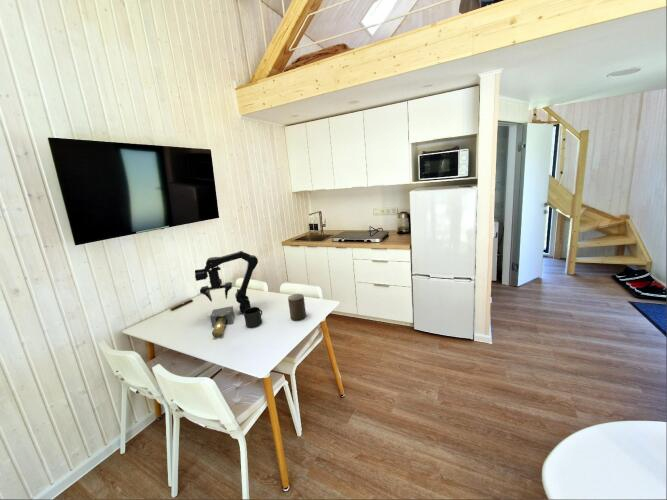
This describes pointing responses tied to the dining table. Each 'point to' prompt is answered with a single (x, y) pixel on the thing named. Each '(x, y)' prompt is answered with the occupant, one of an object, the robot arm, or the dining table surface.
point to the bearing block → (222, 315)
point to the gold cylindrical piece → (219, 327)
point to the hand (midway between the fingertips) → (219, 300)
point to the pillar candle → (297, 307)
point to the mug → (253, 317)
